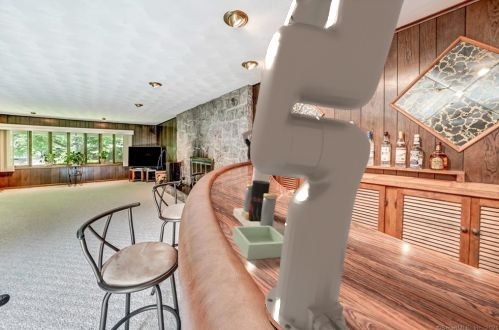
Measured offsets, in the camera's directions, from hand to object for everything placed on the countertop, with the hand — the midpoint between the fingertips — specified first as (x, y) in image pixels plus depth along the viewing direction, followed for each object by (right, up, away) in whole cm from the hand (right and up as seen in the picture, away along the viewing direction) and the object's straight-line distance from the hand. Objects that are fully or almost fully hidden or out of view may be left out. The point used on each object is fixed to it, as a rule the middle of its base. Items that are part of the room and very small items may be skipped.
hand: (263, 161), depth 74 cm
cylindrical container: (-2, -21, +18) cm, 28 cm away
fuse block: (-2, -22, +1) cm, 22 cm away
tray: (-2, -23, -16) cm, 28 cm away
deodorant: (-3, -22, +1) cm, 22 cm away
